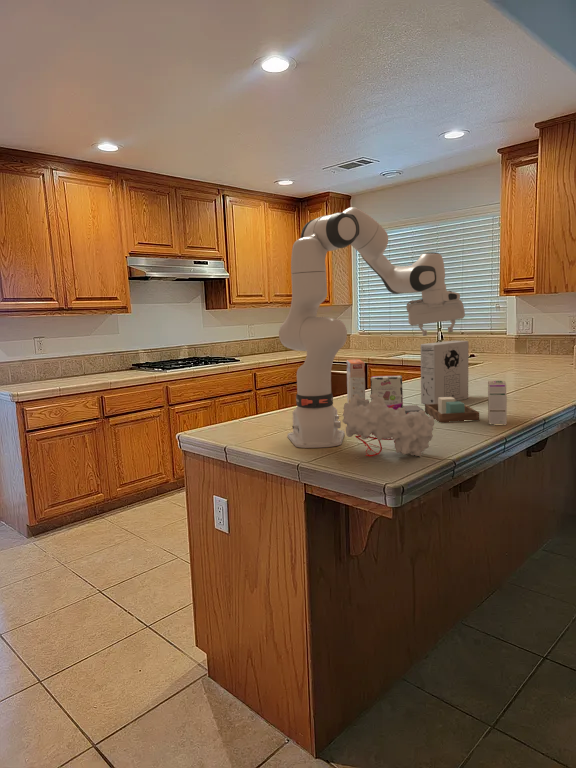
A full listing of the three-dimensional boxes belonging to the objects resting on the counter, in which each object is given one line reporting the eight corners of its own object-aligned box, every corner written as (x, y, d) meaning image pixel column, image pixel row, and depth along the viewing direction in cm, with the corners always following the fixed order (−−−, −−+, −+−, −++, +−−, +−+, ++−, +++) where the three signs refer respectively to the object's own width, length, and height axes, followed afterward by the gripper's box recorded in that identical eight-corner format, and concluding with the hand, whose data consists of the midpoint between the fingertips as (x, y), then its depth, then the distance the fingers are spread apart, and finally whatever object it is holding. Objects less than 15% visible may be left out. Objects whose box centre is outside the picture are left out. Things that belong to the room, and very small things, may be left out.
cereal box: (454, 396, 231) (454, 340, 228) (468, 398, 225) (468, 340, 222) (420, 403, 219) (420, 344, 216) (435, 405, 213) (434, 344, 210)
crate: (479, 420, 183) (479, 412, 183) (439, 422, 183) (439, 414, 183) (461, 410, 202) (461, 402, 202) (425, 412, 202) (424, 404, 202)
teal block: (464, 420, 185) (464, 403, 184) (450, 421, 185) (450, 404, 184) (459, 417, 190) (459, 401, 189) (446, 418, 190) (446, 402, 189)
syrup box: (506, 425, 174) (507, 382, 172) (488, 425, 176) (488, 382, 174) (505, 422, 179) (506, 380, 177) (487, 421, 181) (487, 380, 179)
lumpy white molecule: (384, 469, 158) (318, 430, 150) (412, 416, 160) (349, 375, 152) (420, 486, 140) (348, 443, 132) (452, 426, 141) (383, 380, 133)
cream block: (455, 414, 195) (455, 399, 194) (442, 415, 195) (441, 399, 194) (451, 412, 200) (451, 396, 199) (438, 412, 200) (438, 397, 199)
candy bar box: (403, 419, 191) (402, 375, 188) (403, 422, 186) (402, 377, 184) (372, 419, 193) (371, 375, 191) (371, 422, 189) (370, 377, 186)
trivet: (423, 415, 197) (423, 410, 196) (397, 416, 197) (397, 411, 196) (416, 410, 206) (416, 405, 206) (391, 411, 206) (391, 406, 206)
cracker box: (366, 416, 198) (365, 362, 195) (350, 417, 199) (349, 362, 196) (362, 409, 212) (360, 358, 209) (347, 410, 212) (345, 359, 209)
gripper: (406, 302, 191) (410, 339, 194) (464, 293, 188) (467, 331, 192) (404, 300, 197) (408, 336, 200) (460, 292, 194) (463, 328, 198)
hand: (437, 333), depth 196 cm, fingers open, 8 cm apart
